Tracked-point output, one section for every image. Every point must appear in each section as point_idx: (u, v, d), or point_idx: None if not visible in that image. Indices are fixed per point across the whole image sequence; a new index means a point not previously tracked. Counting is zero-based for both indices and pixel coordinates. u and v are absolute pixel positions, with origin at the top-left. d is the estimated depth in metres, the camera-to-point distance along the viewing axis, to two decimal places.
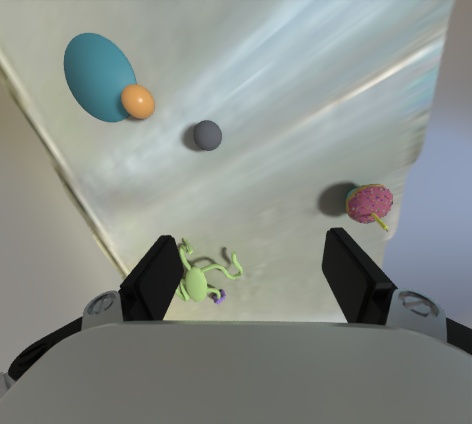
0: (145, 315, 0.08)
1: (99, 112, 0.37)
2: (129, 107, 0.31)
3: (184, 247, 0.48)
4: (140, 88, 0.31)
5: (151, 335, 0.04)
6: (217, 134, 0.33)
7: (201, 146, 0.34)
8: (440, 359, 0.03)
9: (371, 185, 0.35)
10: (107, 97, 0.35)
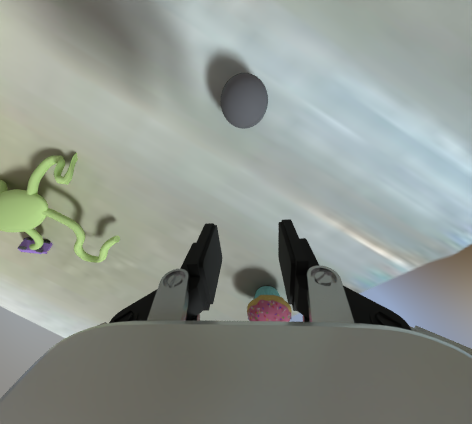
0: (204, 292, 0.09)
1: None
2: None
3: (60, 164, 0.27)
4: None
5: (151, 335, 0.04)
6: (255, 119, 0.20)
7: (225, 101, 0.19)
8: (440, 359, 0.03)
9: (287, 305, 0.33)
10: None
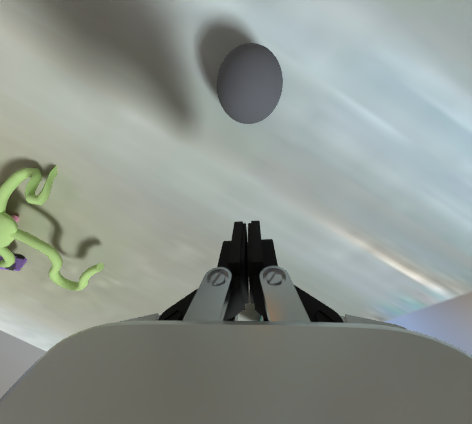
0: (242, 291, 0.09)
1: None
2: None
3: (35, 180, 0.22)
4: None
5: (151, 335, 0.04)
6: (265, 110, 0.14)
7: (222, 85, 0.14)
8: (440, 359, 0.03)
9: None
10: None
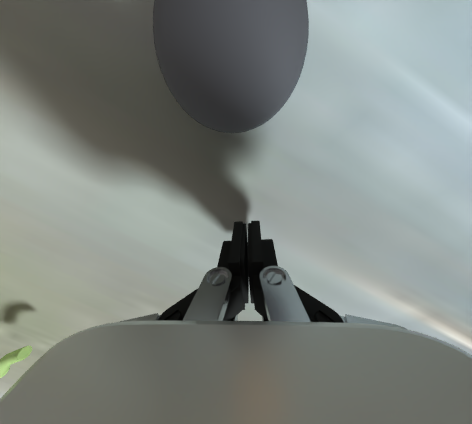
0: (242, 291, 0.09)
1: None
2: None
3: None
4: None
5: (151, 335, 0.04)
6: (268, 104, 0.06)
7: (159, 37, 0.05)
8: (440, 359, 0.03)
9: None
10: None
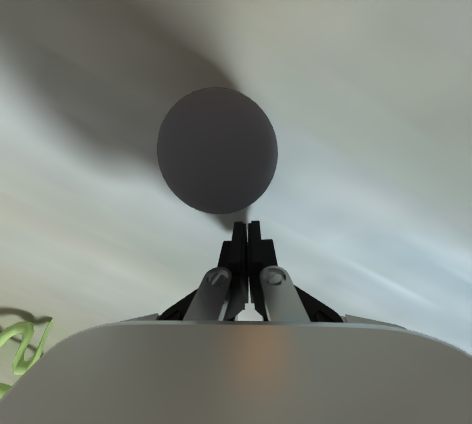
0: (242, 291, 0.09)
1: None
2: None
3: (26, 341, 0.19)
4: None
5: (151, 335, 0.04)
6: None
7: None
8: (440, 359, 0.03)
9: None
10: None
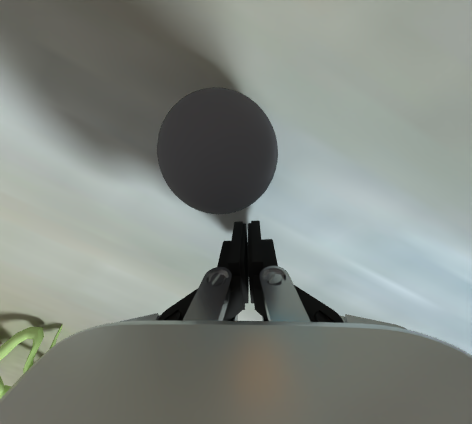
0: (242, 291, 0.09)
1: None
2: None
3: (36, 347, 0.20)
4: None
5: (151, 335, 0.04)
6: None
7: None
8: (440, 359, 0.03)
9: None
10: None
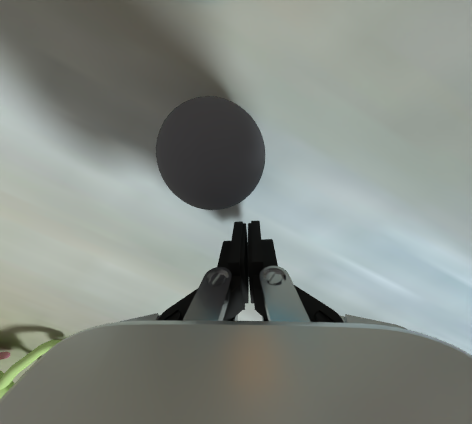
0: (242, 291, 0.09)
1: None
2: None
3: None
4: None
5: (151, 335, 0.04)
6: None
7: None
8: (440, 359, 0.03)
9: None
10: None
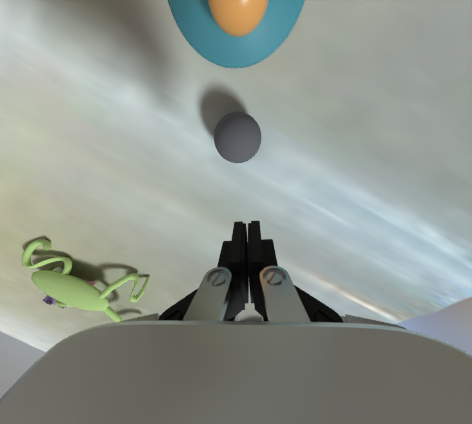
0: (242, 291, 0.09)
1: None
2: None
3: (136, 285, 0.34)
4: None
5: (151, 335, 0.04)
6: None
7: None
8: (440, 359, 0.03)
9: None
10: None
